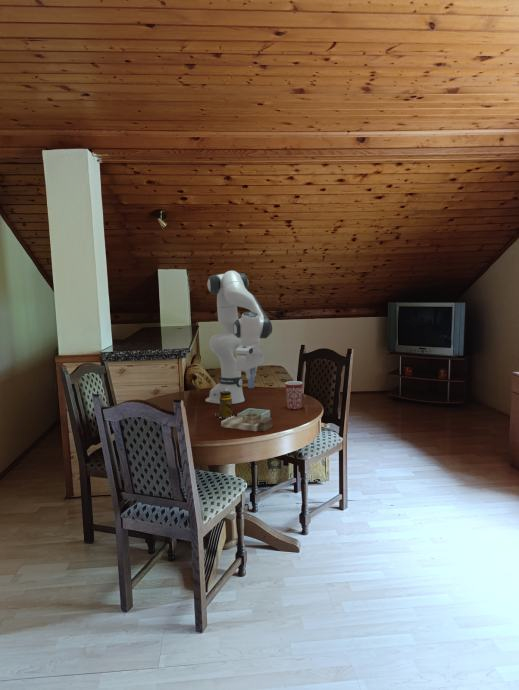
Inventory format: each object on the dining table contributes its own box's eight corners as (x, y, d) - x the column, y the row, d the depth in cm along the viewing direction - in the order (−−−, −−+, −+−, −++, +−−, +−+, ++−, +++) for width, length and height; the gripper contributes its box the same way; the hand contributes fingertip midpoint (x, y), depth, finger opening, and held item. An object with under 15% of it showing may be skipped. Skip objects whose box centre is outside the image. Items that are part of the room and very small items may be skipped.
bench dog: (258, 430, 202) (258, 422, 202) (266, 425, 209) (266, 417, 209) (264, 431, 201) (264, 422, 200) (272, 426, 208) (272, 418, 207)
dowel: (246, 387, 211) (246, 368, 210) (249, 386, 214) (249, 367, 213) (252, 388, 210) (252, 368, 209) (255, 386, 213) (255, 367, 211)
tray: (237, 421, 218) (237, 413, 218) (249, 415, 228) (249, 408, 228) (259, 423, 213) (259, 416, 212) (270, 417, 223) (270, 410, 223)
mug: (303, 410, 235) (303, 384, 233) (285, 410, 236) (285, 384, 234) (302, 404, 248) (302, 379, 246) (285, 404, 248) (285, 379, 246)
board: (221, 426, 210) (220, 415, 209) (232, 421, 219) (231, 409, 218) (256, 431, 201) (255, 419, 201) (266, 425, 210) (265, 413, 210)
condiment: (234, 416, 226) (233, 393, 225) (217, 418, 224) (216, 394, 223) (231, 413, 233) (230, 390, 232) (215, 414, 231) (214, 391, 230)
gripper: (255, 344, 220) (255, 372, 222) (233, 350, 202) (234, 381, 204) (267, 345, 217) (267, 373, 219) (246, 351, 199) (246, 382, 201)
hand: (251, 377), depth 211 cm, fingers closed on dowel, 3 cm apart
